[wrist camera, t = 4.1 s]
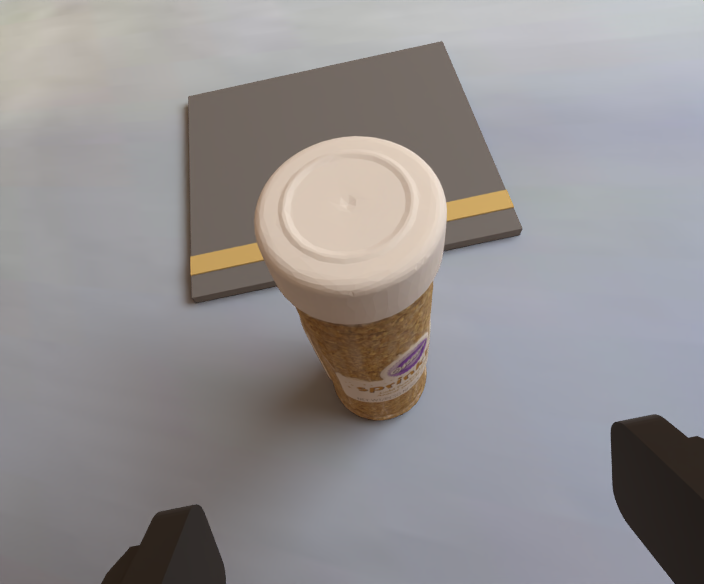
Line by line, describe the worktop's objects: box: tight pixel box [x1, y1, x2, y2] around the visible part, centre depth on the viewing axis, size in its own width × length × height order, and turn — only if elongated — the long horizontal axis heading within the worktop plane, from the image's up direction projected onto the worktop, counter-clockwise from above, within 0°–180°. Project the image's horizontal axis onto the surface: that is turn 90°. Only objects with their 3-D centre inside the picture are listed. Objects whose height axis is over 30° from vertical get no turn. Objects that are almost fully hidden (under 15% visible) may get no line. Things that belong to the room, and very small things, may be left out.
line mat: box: [188, 41, 522, 303], centre depth 29 cm, size 18×16×1 cm
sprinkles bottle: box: [254, 136, 447, 420], centre depth 16 cm, size 5×5×14 cm
